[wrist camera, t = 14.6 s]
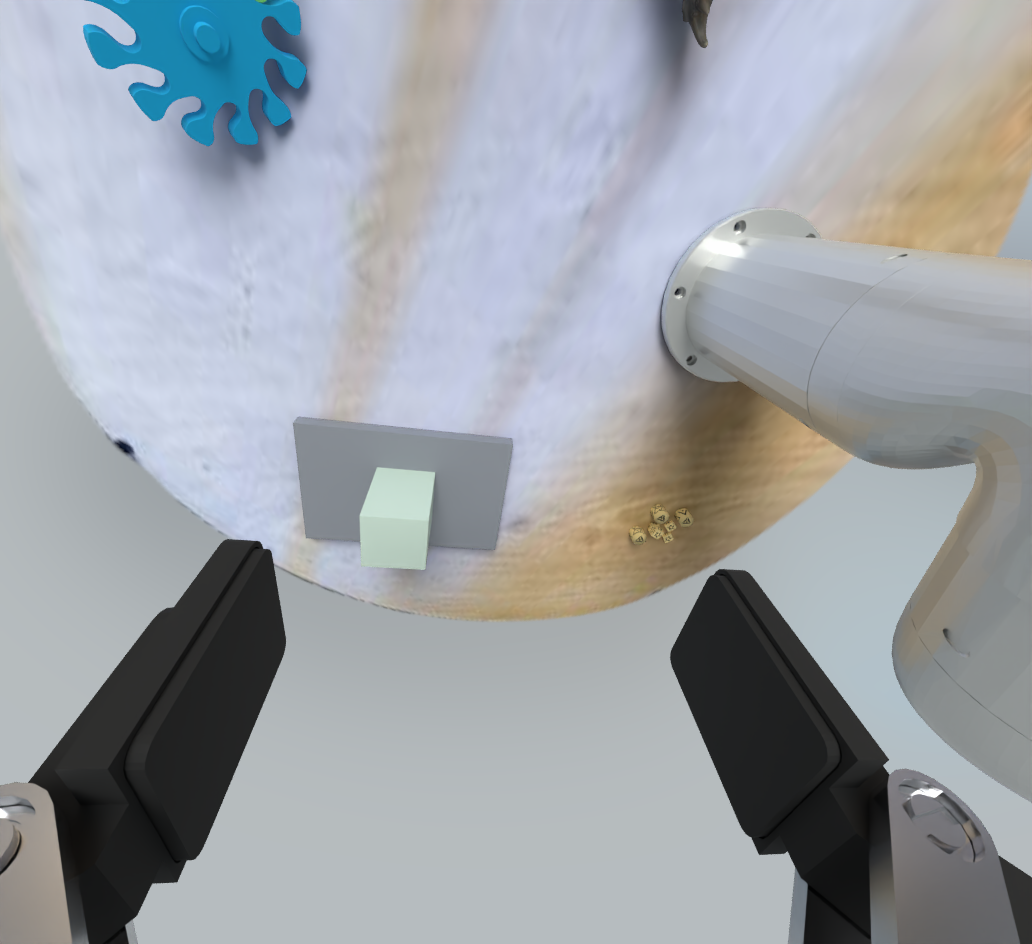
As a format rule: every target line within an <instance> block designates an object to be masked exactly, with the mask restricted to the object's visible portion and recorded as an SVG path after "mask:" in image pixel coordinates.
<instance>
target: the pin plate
mask: <svg viewBox="0 0 1032 944" xmlns="http://www.w3.org/2000/svg"><path fill="white" fill-rule="evenodd" d="M293 426H294V435H295V444H296V453H297V462H298V471H299V480H300V489H301V498H302V507H303V516H304V525H305V534H306V538H312V539H328V540H344V541H360V513H361V510H362V508H363V505H364V502H365V499H366V497H367V494H368V491H369V488H370V485H371V483H372V480H373V477H374V474H375V472H376V469H377V467H381V468H392V469H404V470H415V471H427V472H435V484H434V498H433V512H432V522H431V530H430V538H429V545H428V546H440V547H456V548H472V549H488V550H495V547H496V541H497V535H498V530H499V524H500V518H501V512H502V506H503V500H504V495H505V489H506V483H507V477H508V471H509V465H510V459H511V454H512V448H513V442H512V439H511V438H501V437H491V436H482V435H472V434H462V433H452V432H442V431H432V430H423V429H413V428H403V427H393V426H383V425H373V424H363V423H354V422H344V421H334V420H324V419H314V418H304V417H298V418H297V419H296V420H295V421H294V423H293Z"/></svg>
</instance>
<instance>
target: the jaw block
mask: <svg viewBox="0 0 1032 944" xmlns="http://www.w3.org/2000/svg"><path fill="white" fill-rule="evenodd" d="M434 484H435V472H427V471H415V470H404V469H392V468H381V467H377V469H376V472H375V474H374V477H373V480H372V483H371V485H370V488H369V491H368V494H367V497H366V499H365V502H364V505H363V508H362V510H361V513H360V545H361V566H363V567H382V568H401V569H419V570H425V569H426V561H427V553H428V545H429V538H430V530H431V522H432V512H433V498H434Z"/></svg>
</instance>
